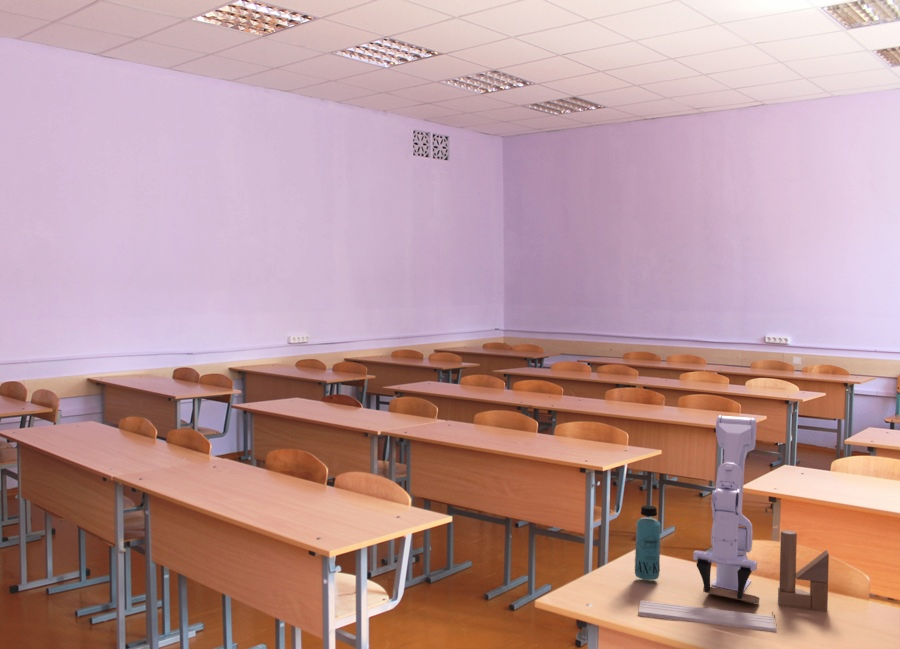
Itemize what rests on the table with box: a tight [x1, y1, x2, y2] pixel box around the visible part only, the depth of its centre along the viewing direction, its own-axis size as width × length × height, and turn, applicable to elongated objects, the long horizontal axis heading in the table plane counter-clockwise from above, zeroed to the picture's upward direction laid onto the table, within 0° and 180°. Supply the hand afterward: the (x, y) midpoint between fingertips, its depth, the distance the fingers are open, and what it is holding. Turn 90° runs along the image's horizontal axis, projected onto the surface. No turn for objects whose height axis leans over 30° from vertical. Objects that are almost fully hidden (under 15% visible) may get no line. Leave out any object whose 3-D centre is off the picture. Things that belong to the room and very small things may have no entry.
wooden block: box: [777, 529, 830, 613], centre depth 189 cm, size 4×11×18 cm, turn 71°
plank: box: [703, 586, 760, 605], centre depth 191 cm, size 6×12×2 cm, turn 57°
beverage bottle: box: [633, 504, 661, 581], centre depth 205 cm, size 6×7×20 cm
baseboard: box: [638, 600, 778, 633], centre depth 184 cm, size 30×3×10 cm
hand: (723, 594), depth 189 cm, fingers open, 7 cm apart
